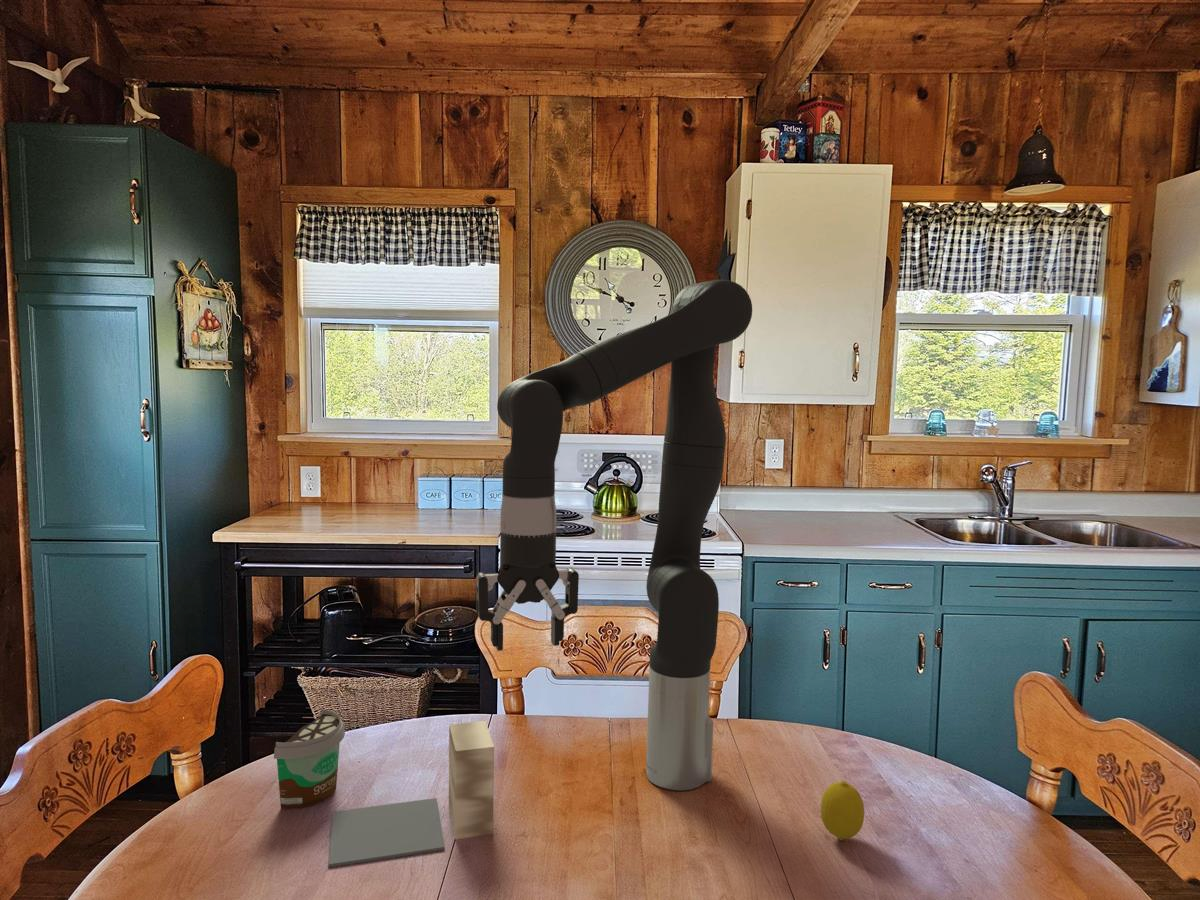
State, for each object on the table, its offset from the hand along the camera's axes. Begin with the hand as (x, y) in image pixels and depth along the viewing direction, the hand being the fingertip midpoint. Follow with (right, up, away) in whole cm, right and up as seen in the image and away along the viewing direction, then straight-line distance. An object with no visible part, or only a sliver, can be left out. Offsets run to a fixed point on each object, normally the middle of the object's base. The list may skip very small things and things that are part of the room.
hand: (527, 646), depth 105 cm
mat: (-18, -24, -3) cm, 30 cm away
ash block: (-8, -24, 0) cm, 25 cm away
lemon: (+42, -25, -3) cm, 49 cm away
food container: (-30, -23, +5) cm, 38 cm away
